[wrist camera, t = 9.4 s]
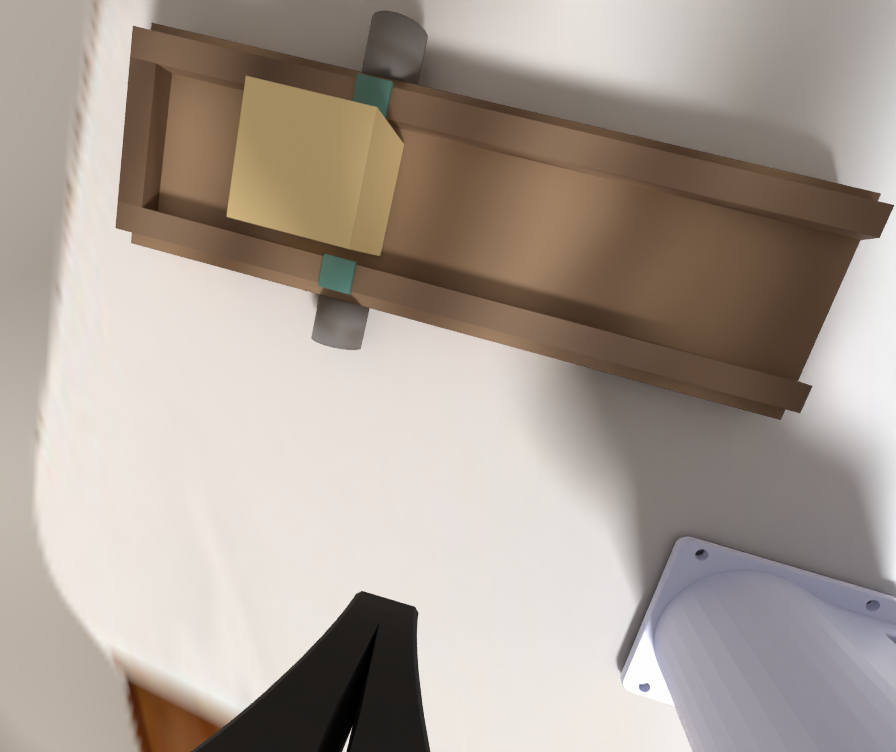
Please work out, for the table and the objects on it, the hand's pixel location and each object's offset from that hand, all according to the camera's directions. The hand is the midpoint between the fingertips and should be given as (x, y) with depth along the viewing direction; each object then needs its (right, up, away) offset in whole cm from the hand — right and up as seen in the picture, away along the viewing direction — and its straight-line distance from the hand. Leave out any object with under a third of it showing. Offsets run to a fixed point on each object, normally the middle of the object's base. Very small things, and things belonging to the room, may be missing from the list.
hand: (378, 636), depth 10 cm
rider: (-2, +13, +7) cm, 15 cm away
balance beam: (+2, +12, +8) cm, 14 cm away
